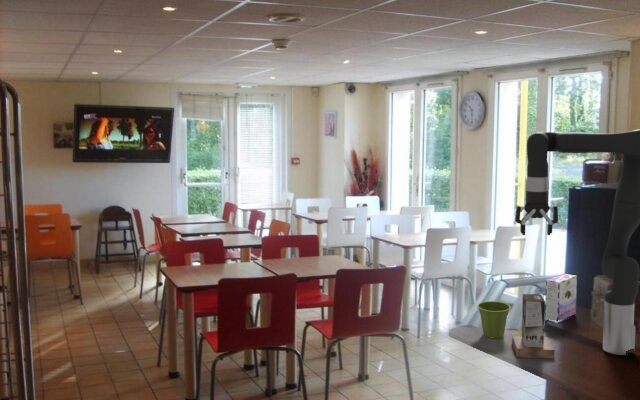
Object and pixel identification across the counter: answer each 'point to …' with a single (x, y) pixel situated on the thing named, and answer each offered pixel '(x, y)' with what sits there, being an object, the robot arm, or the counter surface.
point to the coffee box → (533, 320)
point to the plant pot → (493, 317)
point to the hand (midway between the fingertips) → (536, 234)
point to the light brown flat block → (533, 349)
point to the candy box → (560, 297)
